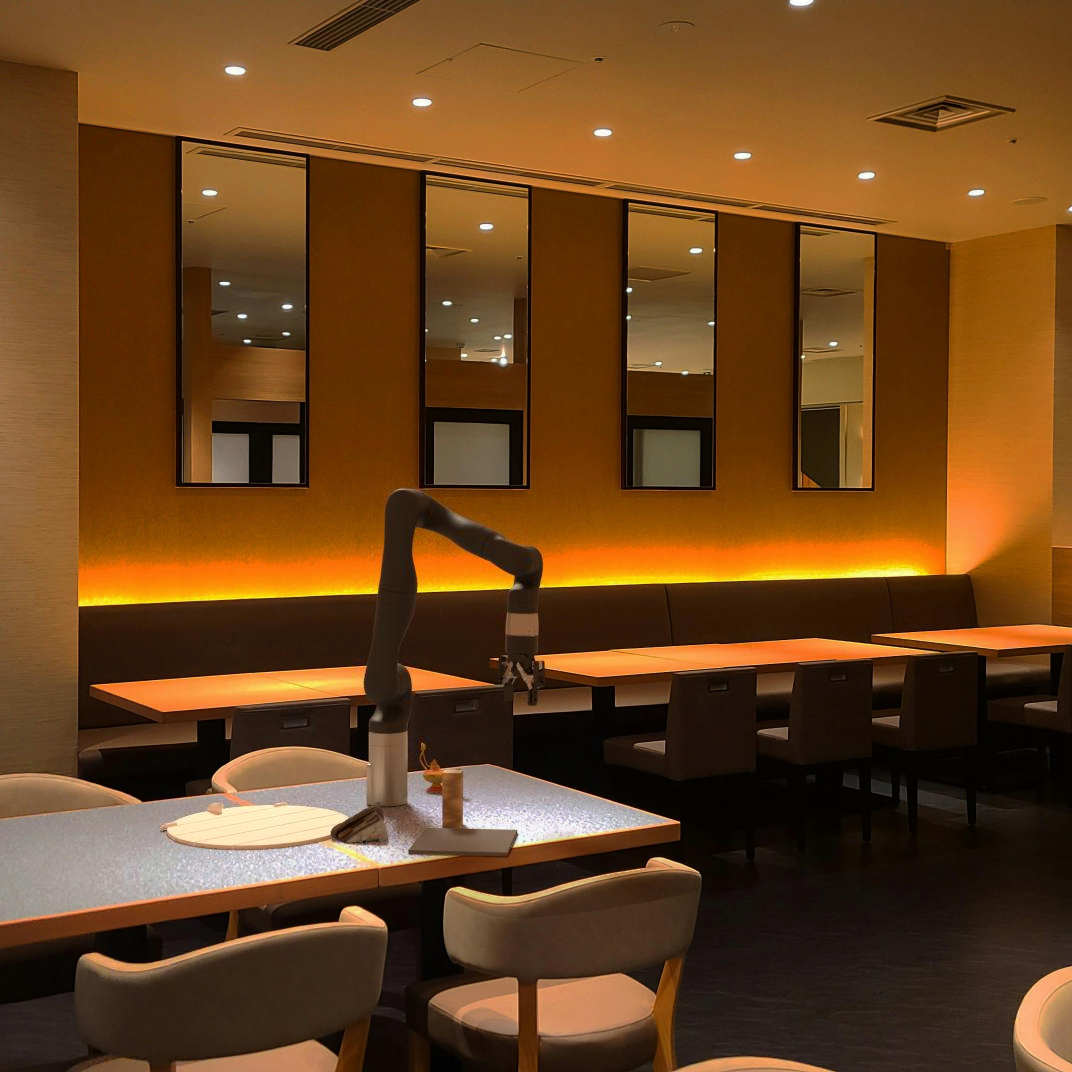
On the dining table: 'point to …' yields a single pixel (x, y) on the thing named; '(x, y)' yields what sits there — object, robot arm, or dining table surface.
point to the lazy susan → (254, 826)
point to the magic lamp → (433, 773)
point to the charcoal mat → (464, 842)
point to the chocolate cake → (362, 826)
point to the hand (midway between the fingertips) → (520, 703)
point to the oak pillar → (452, 799)
